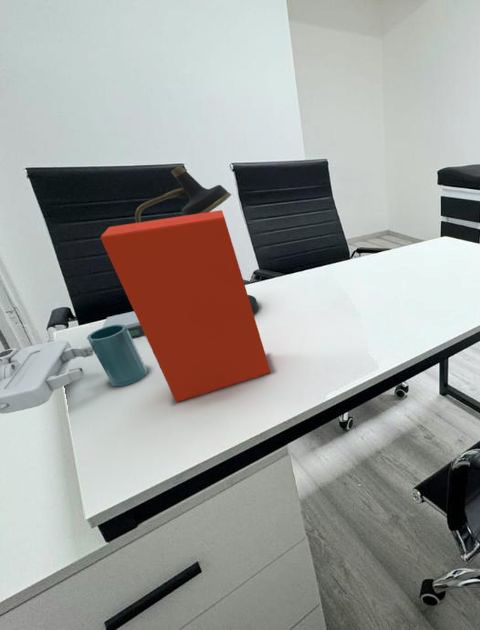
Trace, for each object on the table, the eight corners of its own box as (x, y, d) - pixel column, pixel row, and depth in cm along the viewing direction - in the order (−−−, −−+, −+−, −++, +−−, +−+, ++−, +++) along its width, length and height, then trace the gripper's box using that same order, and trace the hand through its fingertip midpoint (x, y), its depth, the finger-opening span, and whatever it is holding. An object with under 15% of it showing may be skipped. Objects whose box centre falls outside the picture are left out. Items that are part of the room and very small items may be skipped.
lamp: (265, 317, 103) (221, 163, 85) (173, 339, 95) (105, 175, 78) (260, 296, 116) (222, 159, 98) (180, 314, 109) (122, 169, 91)
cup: (108, 390, 78) (83, 343, 73) (114, 374, 83) (90, 330, 78) (145, 379, 80) (123, 334, 75) (148, 365, 85) (128, 321, 80)
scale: (103, 345, 95) (96, 333, 93) (110, 328, 103) (105, 317, 102) (159, 332, 99) (153, 320, 98) (162, 316, 108) (157, 305, 106)
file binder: (271, 373, 79) (224, 217, 64) (176, 403, 72) (99, 236, 58) (265, 355, 85) (221, 209, 71) (178, 381, 79) (109, 226, 64)
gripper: (-41, 401, 62) (66, 373, 67) (9, 345, 78) (91, 326, 84) (-18, 431, 65) (83, 402, 70) (25, 371, 81) (104, 351, 86)
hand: (88, 360), depth 77 cm, fingers open, 8 cm apart
